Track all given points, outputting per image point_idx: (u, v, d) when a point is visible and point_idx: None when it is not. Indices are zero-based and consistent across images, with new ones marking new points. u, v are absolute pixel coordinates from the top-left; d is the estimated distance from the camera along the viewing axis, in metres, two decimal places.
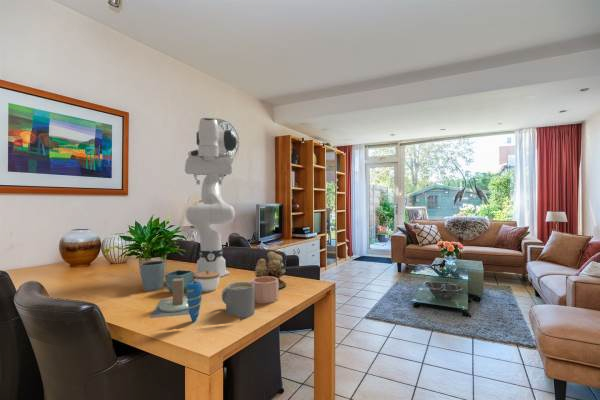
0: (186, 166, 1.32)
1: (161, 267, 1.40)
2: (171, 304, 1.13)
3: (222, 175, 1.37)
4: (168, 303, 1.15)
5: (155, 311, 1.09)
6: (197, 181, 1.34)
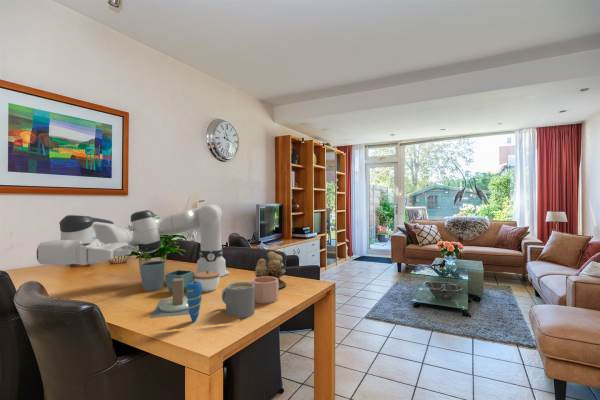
0: (100, 249, 1.00)
1: (161, 267, 1.40)
2: (171, 304, 1.13)
3: (127, 245, 1.16)
4: (168, 303, 1.15)
5: (155, 311, 1.09)
6: (126, 250, 1.06)
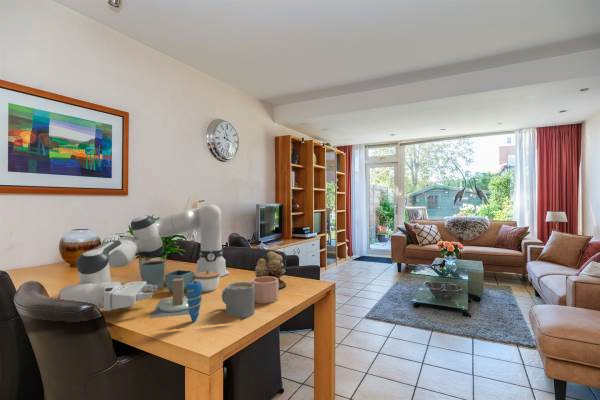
0: (124, 294, 1.01)
1: (161, 267, 1.40)
2: (171, 304, 1.13)
3: (146, 285, 1.17)
4: (168, 303, 1.15)
5: (155, 311, 1.09)
6: (148, 293, 1.07)
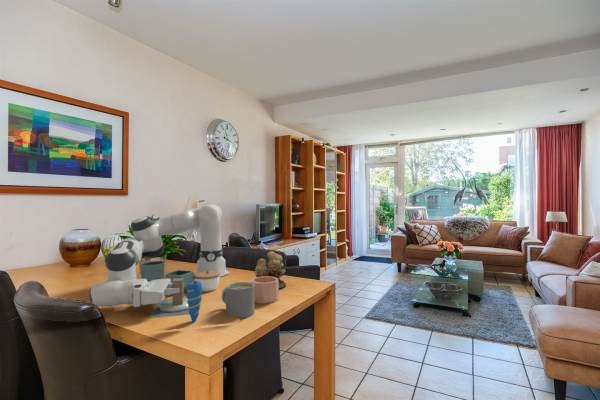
0: (153, 291, 1.04)
1: (161, 267, 1.40)
2: (171, 304, 1.13)
3: (170, 283, 1.17)
4: (168, 303, 1.15)
5: (155, 311, 1.09)
6: (176, 287, 1.12)
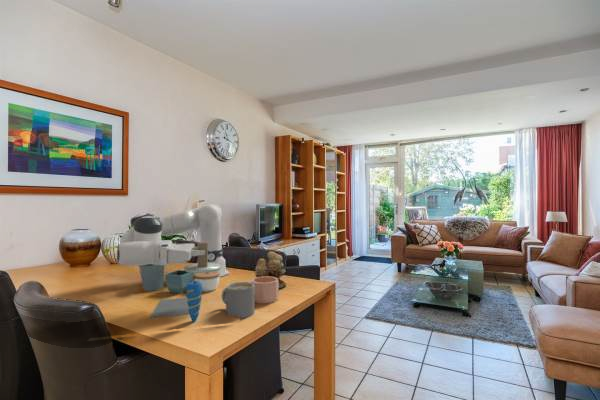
0: (180, 250, 1.04)
1: (161, 267, 1.40)
2: (196, 266, 1.14)
3: (194, 247, 1.17)
4: (192, 266, 1.15)
5: (155, 311, 1.09)
6: (201, 250, 1.12)
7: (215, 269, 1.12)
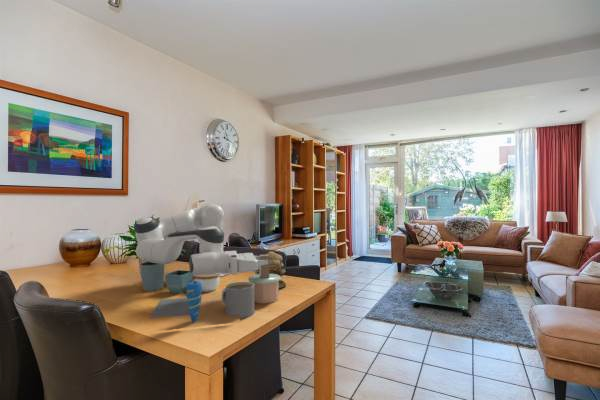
0: (249, 260, 1.13)
1: (161, 267, 1.40)
2: (259, 278, 1.23)
3: (255, 256, 1.28)
4: (255, 277, 1.24)
5: (155, 311, 1.09)
6: (264, 259, 1.20)
7: (277, 280, 1.21)
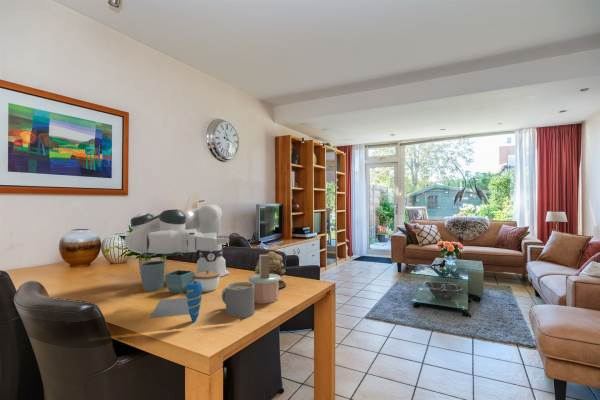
0: (207, 237, 1.09)
1: (161, 267, 1.40)
2: (259, 278, 1.23)
3: (218, 235, 1.25)
4: (255, 277, 1.24)
5: (155, 311, 1.09)
6: (225, 238, 1.15)
7: (277, 280, 1.21)
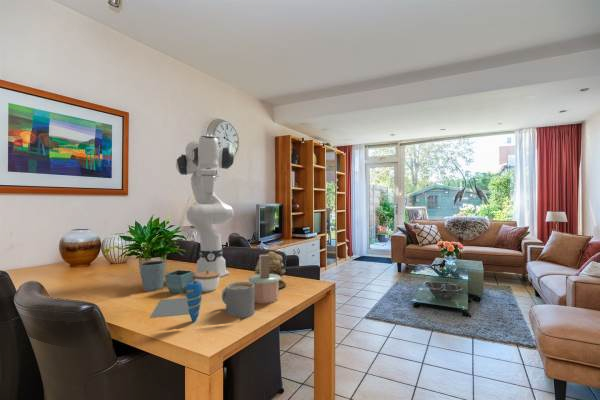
0: (213, 185, 1.24)
1: (161, 267, 1.40)
2: (259, 278, 1.23)
3: (211, 195, 1.38)
4: (255, 277, 1.24)
5: (155, 311, 1.09)
6: (210, 201, 1.28)
7: (277, 280, 1.21)
